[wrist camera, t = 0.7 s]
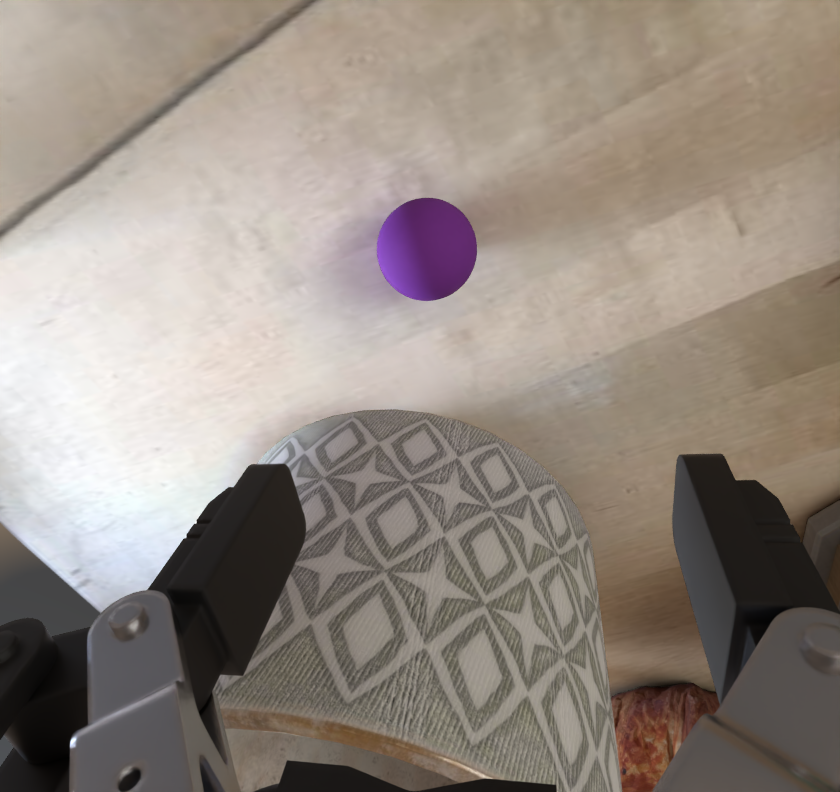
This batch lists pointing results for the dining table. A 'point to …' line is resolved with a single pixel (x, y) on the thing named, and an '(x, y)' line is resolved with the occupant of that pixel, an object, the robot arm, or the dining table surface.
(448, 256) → the ball
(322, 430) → the planter
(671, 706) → the pastry
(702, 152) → the dining table surface
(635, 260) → the dining table surface
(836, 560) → the tankard
